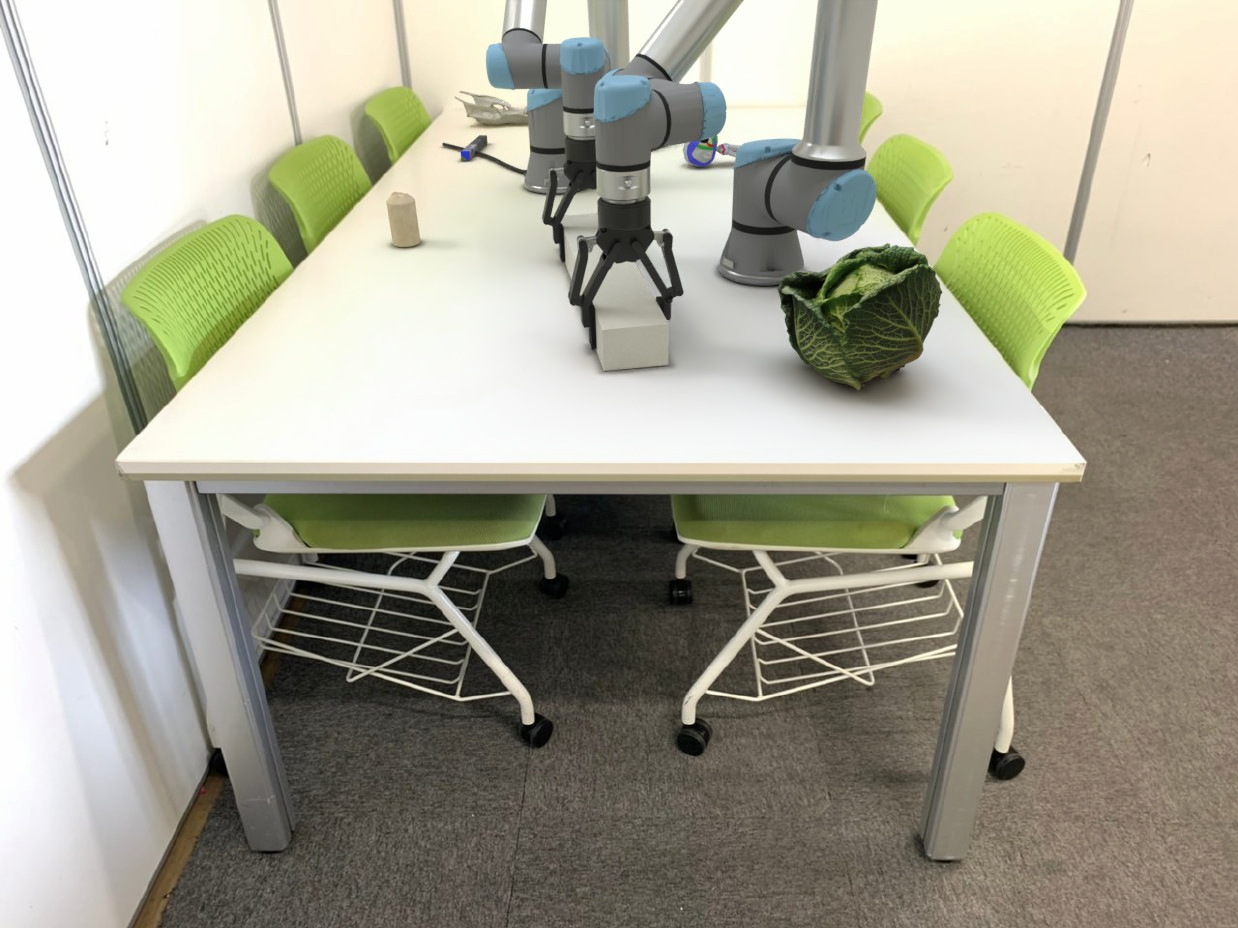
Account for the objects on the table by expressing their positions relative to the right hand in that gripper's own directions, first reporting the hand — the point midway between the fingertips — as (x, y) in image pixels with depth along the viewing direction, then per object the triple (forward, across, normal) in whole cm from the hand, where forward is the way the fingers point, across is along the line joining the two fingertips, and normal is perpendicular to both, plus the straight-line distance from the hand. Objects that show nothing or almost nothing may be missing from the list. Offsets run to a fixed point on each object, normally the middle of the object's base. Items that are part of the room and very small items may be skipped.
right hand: (626, 342), depth 137 cm
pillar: (+1, -19, +132) cm, 133 cm away
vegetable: (+1, +30, -16) cm, 34 cm away
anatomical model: (+1, -10, +168) cm, 168 cm away
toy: (+1, +48, +102) cm, 113 cm away
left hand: (0, 0, +39) cm, 39 cm away
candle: (+1, -35, +57) cm, 67 cm away
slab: (+1, 0, +20) cm, 20 cm away
